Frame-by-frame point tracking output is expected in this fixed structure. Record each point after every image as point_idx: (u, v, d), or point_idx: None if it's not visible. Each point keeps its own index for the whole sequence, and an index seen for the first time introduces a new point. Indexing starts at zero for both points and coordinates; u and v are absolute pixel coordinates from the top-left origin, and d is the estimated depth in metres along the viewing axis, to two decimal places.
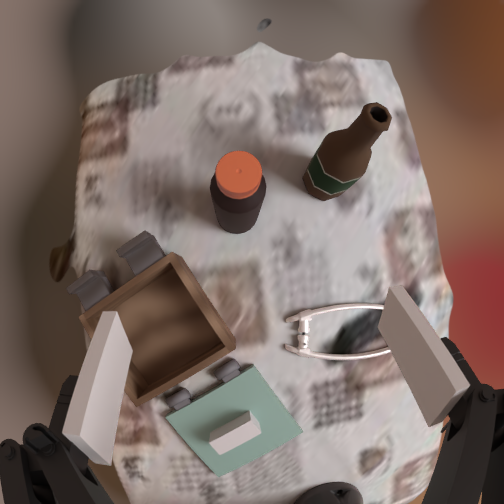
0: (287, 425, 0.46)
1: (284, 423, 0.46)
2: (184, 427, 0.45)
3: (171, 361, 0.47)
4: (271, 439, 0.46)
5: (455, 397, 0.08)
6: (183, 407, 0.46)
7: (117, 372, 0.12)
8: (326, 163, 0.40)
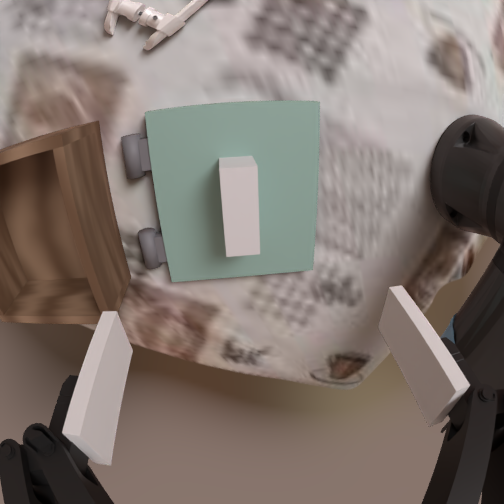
0: (288, 116, 0.25)
1: (281, 118, 0.25)
2: (199, 266, 0.32)
3: None
4: (297, 156, 0.27)
5: (455, 397, 0.08)
6: (165, 250, 0.31)
7: (117, 372, 0.12)
8: None
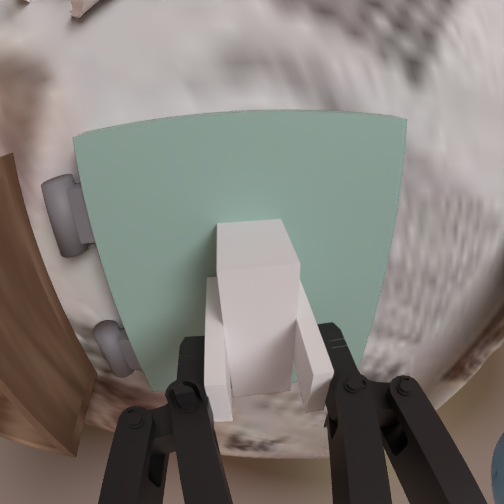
0: (352, 144, 0.13)
1: (339, 148, 0.13)
2: None
3: None
4: (361, 218, 0.15)
5: (319, 382, 0.10)
6: (137, 356, 0.19)
7: None
8: None
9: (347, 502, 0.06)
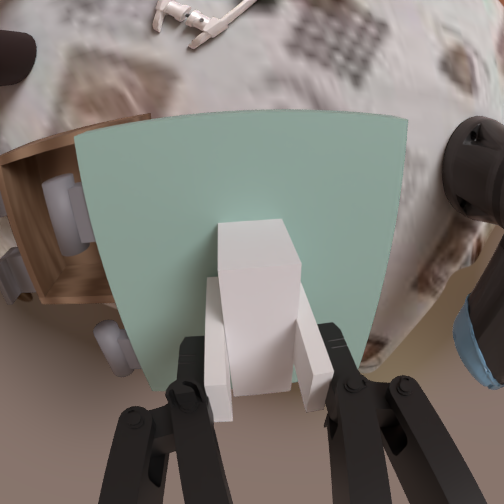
0: (353, 144, 0.13)
1: (340, 148, 0.13)
2: None
3: None
4: (362, 218, 0.15)
5: (319, 382, 0.10)
6: (137, 356, 0.19)
7: None
8: None
9: (347, 502, 0.06)
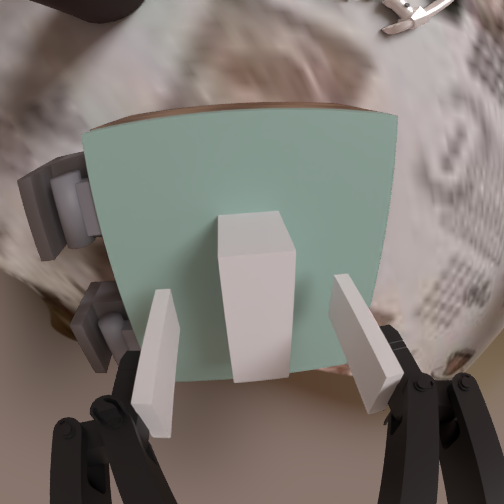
0: (345, 140, 0.14)
1: (332, 143, 0.14)
2: (193, 367, 0.21)
3: None
4: (355, 210, 0.16)
5: (388, 384, 0.10)
6: (140, 346, 0.19)
7: (172, 347, 0.13)
8: None
9: (397, 494, 0.06)
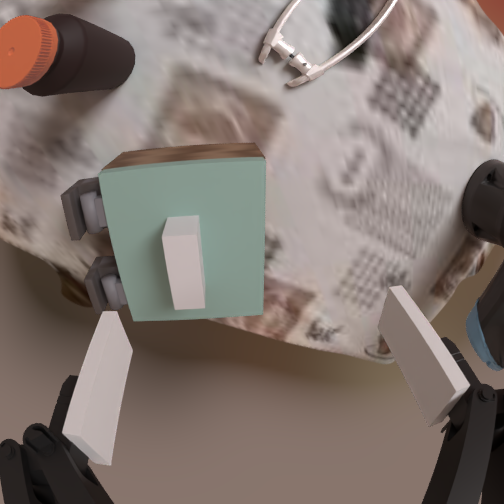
0: (233, 177, 0.27)
1: (226, 179, 0.27)
2: (157, 309, 0.34)
3: None
4: (243, 214, 0.29)
5: (455, 397, 0.08)
6: (125, 294, 0.33)
7: (117, 372, 0.12)
8: None
9: (445, 495, 0.05)
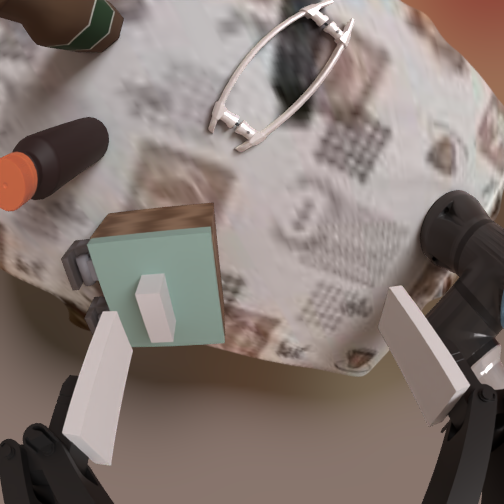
0: (186, 245, 0.35)
1: (181, 247, 0.35)
2: (141, 338, 0.42)
3: None
4: (197, 272, 0.37)
5: (455, 397, 0.08)
6: None
7: (117, 372, 0.12)
8: (54, 43, 0.19)
9: (445, 495, 0.05)
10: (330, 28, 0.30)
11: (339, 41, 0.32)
